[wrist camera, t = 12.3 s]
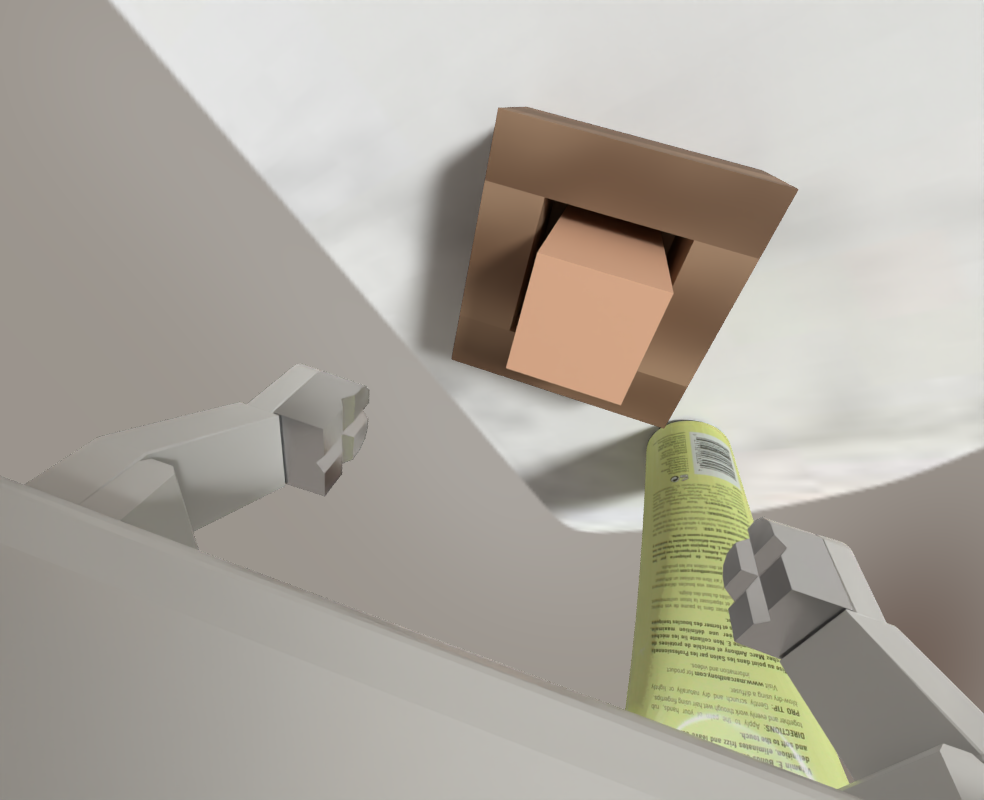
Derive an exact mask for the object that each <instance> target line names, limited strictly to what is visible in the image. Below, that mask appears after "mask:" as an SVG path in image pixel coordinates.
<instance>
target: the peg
mask: <svg viewBox="0 0 984 800" xmlns="http://www.w3.org/2000/svg"><path fill="white" fill-rule="evenodd" d="M673 294H674V293H673V288H672V283H671V278H670V274H669V269H668V264H667V259H666V255H665V250H664V245H663V240H662V236H661V231H660V230H657V229H653V228H650V227H646V226H643V225H639V224H636V223H632V222H629V221H625V220H622V219H618V218H615V217H611V216H608V215H604V214H601V213H597V212H594V211H590V210H587V209H583V208H580V207H576V206H573V205H569V204H568V206H567V207H566V209H565V210H564V212H563V214H562V215H561V217H560V218H559V220H558V221H557V223H556V224H555V226H554V227H553V229H552V231H551V232H550V234H549V235H548V237H547V238H546V240H545V241H544V243H543V245H542V246H541V248H540V249H539V251H538V252H537V256H536V259H535V263H534V267H533V270H532V274H531V278H530V281H529V285H528V289H527V292H526V296H525V300H524V303H523V307H522V311H521V314H520V318H519V322H518V325H517V329H516V333H515V336H514V340H513V344H512V348H511V351H510V355H509V359H508V362H507V366H506V368H507V369H510V370H513V371H517V372H520V373H523V374H526V375H529V376H532V377H535V378H538V379H541V380H544V381H547V382H550V383H553V384H557V385H560V386H563V387H566V388H569V389H572V390H575V391H578V392H581V393H584V394H587V395H590V396H594V397H597V398H600V399H603V400H606V401H609V402H612V403H615V404H618V405H621V404H622V402H623V400H624V397H625V395H626V393H627V391H628V389H629V387H630V385H631V383H632V380H633V378H634V376H635V374H636V372H637V370H638V368H639V366H640V364H641V361H642V359H643V357H644V355H645V353H646V351H647V349H648V347H649V344H650V342H651V340H652V338H653V336H654V334H655V332H656V330H657V328H658V325H659V323H660V321H661V319H662V317H663V315H664V313H665V311H666V308H667V306H668V304H669V302H670V300H671V298H672V296H673Z"/></svg>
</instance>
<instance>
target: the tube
mask: <svg viewBox="0 0 984 800" xmlns="http://www.w3.org/2000/svg"><path fill="white" fill-rule="evenodd" d="M753 522H754V521H753V518H752V515H751V511H750V508H749V505H748V502H747V499H746V495H745V492H744V489H743V485H742V482H741V479H740V475H739V472H738V469H737V466H736V462H735V458H734V455H733V452H732V449H731V446H730V443H729V441H728V439H727V438H726V436H725V435H724V434H723V433H722V432H721V431H720V430H718V429H717V428H715V427H714V426H711V425H709V424H706V423H703V422H698V421H678V422H674V423H671V424H668V425H666V426H665V428H660V429H659V430H658V431H656V432H655V433H654V434H653V436H652V437H651V438H650V440H649V442H648V445H647V450H646V474H645V496H644V515H643V533H642V548H641V562H640V575H639V588H638V600H637V612H636V623H635V631H634V641H633V650H632V660H631V669H630V676H629V685H628V692H627V700H626V708H625V710H627V711H630V712H632V713H635V714H638V715H640V716H643V717H646V718H648V719H651V720H654V721H656V722H659V723H662V724H664V725H667V726H670V727H672V728H675V729H678V730H680V731H683V732H686V733H689V734H691V735H694V736H697V737H699V738H702V739H705V740H707V741H710V742H713V743H715V744H718V745H721V746H723V747H726V748H729V749H731V750H734V751H737V752H739V753H742V754H745V755H747V756H750V757H753V758H755V759H758V760H761V761H763V762H766V763H769V764H771V765H774V766H777V767H779V768H782V769H785V770H787V771H790V772H793V773H795V774H798V775H801V776H803V777H806V778H809V779H811V780H814V781H817V782H819V783H822V784H825V785H827V786H830V787H833V788H835V789H839V788H841V787H843V786H846V785H848V784H849V783H848V780H847V777H846V775H845V772H844V770H843V768H842V765H841V763H840V760H839V758H838V755H837V753H836V751H835V749H834V747H833V746H832V744H831V743H830V741H829V739H828V738H827V736H826V735H825V733H824V732H823V730H822V728H821V727H820V725H819V724H818V722H817V720H816V719H815V717H814V716H813V714H812V713H811V711H810V709H809V708H808V706H807V705H806V703H805V701H804V700H803V698H802V697H801V695H800V694H799V692H798V690H797V689H796V687H795V686H794V684H793V682H792V681H791V679H790V678H789V676H788V675H787V673H786V671H785V670H784V668H783V667H782V665H781V663H780V662H779V661H780V660H781V659H778V658H775V657H773V656H770V655H768V654H765V653H762V652H760V651H757V650H755V649H752V648H749V647H747V646H744V645H742V644H739V643H736V642H734V637H733V632H732V626H731V621H730V616H729V611H728V608H729V607H730V606H731V605H732V603H733V602H734V600H733V599H732V598H731V596H730V595H729V593H728V592H727V591H726V589H725V588H724V583H723V564H724V561H725V558H726V555H727V553H728V551H729V550H730V549H731V548H732V546H733V545H734V544H735V543H736V542H739V541H742V540H745V539H749V534H748V528H749V527H750V525H751V524H752V523H753Z"/></svg>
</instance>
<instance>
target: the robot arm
mask: <svg viewBox="0 0 984 800" xmlns="http://www.w3.org/2000/svg"><path fill="white" fill-rule="evenodd" d="M368 403H369V389H368V388H367V386H365V385H362V384H359V383H356V382H353V381H350V380H348V379H345V378H342V377H339V376H336V375H334V374H331V373H328V372H325V371H321V370H318V369H316V368H313V367H310V366H307V365H304V364H297V365H294V366H293V367H292V368H290V369H289V370H288V371H287V372H286V373H284V374H283V375H282V376H281V377H279V378H278V379H277V380H276V381H274V382H273V383H272V384H271V385H269V386H268V387H267V388H266V389H264V390H263V391H262V392H261V393H259V394H258V395H257V396H256V397H255V398H253V399H252V400H251V401H250V402H248V403H247V404H244V403H241V402H237V403H233V404H229V405H225V406H221V407H217V408H213V409H208V410H204V411H200V412H197V413H192V414H189V415H185V416H180V417H176V418H172V419H168V420H164V421H160V422H156V423H152V424H148V425H143V426H139V427H135V428H131V429H128V430H123V431H119V432H115V433H111V434H107V435H103V436H99V437H97V438H95V439H94V440H92V441H91V442H89V443H88V444H86V445H84V446H83V447H81V448H80V449H78V450H77V451H75V452H74V453H72V454H70V455H69V456H67V457H66V458H64V459H63V460H61V461H60V462H58V463H57V464H55V465H53V466H52V467H50V468H49V469H47V470H46V471H44V472H43V473H41V474H40V475H38V476H37V477H35V478H34V479H32V480H30V481H29V482H27V483H26V484H21V483H18V482H16V481H13V480H10V479H8V478H5V477H2V476H0V800H984V714H983V713H982V712H981V711H980V710H979V709H978V708H977V707H976V706H975V705H974V704H973V703H972V702H971V701H970V700H969V699H968V698H967V697H966V696H965V695H964V694H963V693H962V692H961V691H960V690H959V689H958V688H957V687H956V686H955V685H954V684H953V683H952V682H951V681H950V680H949V679H948V678H947V677H946V676H945V675H944V674H943V673H942V672H941V671H940V670H939V669H938V668H937V667H936V666H935V665H934V664H933V663H932V662H931V661H930V660H929V659H928V658H927V657H926V656H925V655H924V654H923V653H922V652H921V651H920V650H919V649H918V648H917V647H916V646H915V645H914V644H913V643H912V642H911V641H910V640H909V639H908V638H907V637H906V636H905V635H904V634H903V633H902V632H901V631H900V630H899V629H898V628H897V627H896V626H893V625H890V624H888V623H886V621H885V619H884V617H883V615H882V613H881V611H880V609H879V606H878V604H877V602H876V600H875V598H874V596H873V594H872V592H871V590H870V588H869V586H868V583H867V582H866V579H865V577H864V575H863V573H862V571H861V569H860V567H859V565H858V563H857V560H856V558H855V556H854V554H853V552H852V550H851V549H850V548H849V547H848V546H847V545H846V544H845V543H843V542H840V541H837V540H834V539H831V538H827V537H824V536H821V535H817V534H812V533H809V532H806V531H803V530H800V529H797V528H794V527H791V526H788V525H785V524H782V523H779V522H775V521H772V520H769V519H766V518H763V517H762V518H759V519H757V520H756V521H754V522H753V523H752V524H751V525H750V527H749V528H748V534H749V539H745V540H742V541H739V542H736V543H735V544H734V545H733V546H732V548H731V549H730V550H729V551H728V553H727V555H726V558H725V561H724V564H723V583H724V588H725V589H726V591H727V592H728V593H729V595H730V596H731V598H732V599H733V600H734V602H733V603H732V605H731V606H730V607H729V608H728V611H729V616H730V621H731V626H732V632H733V637H734V642H736V643H739V644H742V645H744V646H747V647H749V648H752V649H755V650H757V651H760V652H762V653H765V654H768V655H770V656H773V657H775V658H778V659H781V660H780V661H779V662H780V663H781V665H782V667H783V668H784V670H785V671H786V673H787V675H788V676H789V678H790V679H791V681H792V682H793V684H794V686H795V687H796V689H797V690H798V692H799V694H800V695H801V697H802V698H803V700H804V701H805V703H806V705H807V706H808V708H809V709H810V711H811V713H812V714H813V716H814V717H815V719H816V720H817V722H818V724H819V725H820V727H821V728H822V730H823V732H824V733H825V735H826V736H827V738H828V739H829V741H830V743H831V744H832V746H833V747H834V749H835V751H836V752H837V754H838V755H839V757H840V758H841V760H842V762H843V763H844V765H845V766H846V768H847V769H848V771H849V773H850V774H851V776H852V777H853V779H854V781H855V782H853V783H850V784H848V785H846V786H843V787H841V788H839V789H835V788H833V787H830V786H827V785H825V784H822V783H819V782H817V781H814V780H811V779H809V778H806V777H803V776H801V775H798V774H795V773H793V772H790V771H787V770H785V769H782V768H779V767H777V766H774V765H771V764H769V763H766V762H763V761H761V760H758V759H755V758H753V757H750V756H747V755H745V754H742V753H739V752H737V751H734V750H731V749H729V748H726V747H723V746H721V745H718V744H715V743H713V742H710V741H707V740H705V739H702V738H699V737H697V736H694V735H691V734H689V733H686V732H683V731H680V730H678V729H675V728H672V727H670V726H667V725H664V724H662V723H659V722H656V721H654V720H651V719H648V718H646V717H643V716H640V715H638V714H635V713H632V712H630V711H627V710H624V709H622V708H619V707H616V706H614V705H611V704H608V703H606V702H603V701H600V700H597V699H595V698H592V697H590V696H587V695H584V694H582V693H579V692H576V691H574V690H571V689H568V688H565V687H563V686H560V685H558V684H555V683H552V682H550V681H547V680H544V679H542V678H539V677H536V676H533V675H531V674H528V673H525V672H523V671H520V670H517V669H515V668H512V667H509V666H506V665H504V664H501V663H499V662H496V661H493V660H490V659H488V658H485V657H483V656H480V655H477V654H475V653H472V652H469V651H467V650H464V649H461V648H459V647H456V646H453V645H451V644H448V643H445V642H442V641H439V640H437V639H434V638H432V637H429V636H426V635H424V634H421V633H418V632H416V631H413V630H410V629H408V628H405V627H402V626H400V625H397V624H394V623H392V622H389V621H386V620H383V619H381V618H378V617H376V616H373V615H370V614H368V613H365V612H362V611H360V610H357V609H354V608H351V607H349V606H346V605H344V604H341V603H338V602H336V601H333V600H330V599H328V598H325V597H322V596H320V595H317V594H314V593H312V592H309V591H306V590H303V589H301V588H298V587H296V586H293V585H290V584H288V583H285V582H282V581H280V580H277V579H274V578H271V577H269V576H266V575H263V574H261V573H258V572H255V571H253V570H250V569H248V568H245V567H242V566H239V565H237V564H234V563H231V562H229V561H226V560H224V559H221V558H218V557H216V556H213V555H210V554H208V553H205V552H202V551H200V550H199V549H198V545H197V542H196V539H195V536H194V531H196V530H198V529H200V528H202V527H204V526H206V525H208V524H210V523H212V522H214V521H216V520H218V519H220V518H222V517H224V516H226V515H228V514H230V513H232V512H234V511H236V510H238V509H240V508H242V507H244V506H246V505H248V504H250V503H252V502H254V501H256V500H258V499H260V498H262V497H264V496H266V495H268V494H270V493H272V492H274V491H276V490H278V489H280V488H282V487H284V486H285V484H288V485H291V486H294V487H297V488H301V489H304V490H307V491H310V492H313V493H316V494H319V495H322V496H325V495H326V494H327V493H328V492H329V490H330V489H331V488H332V486H333V485H334V484H335V482H336V481H337V480H338V479H339V477H340V476H341V475H342V464H343V463H345V462H348V461H350V460H353V459H354V457H355V456H356V454H357V453H358V451H359V450H360V448H361V446H362V444H363V442H364V440H365V436H366V433H367V428H368V418H367V416H366V414H365V413H364V411H363V410H364V408H365V407H366V406H367V405H368Z"/></svg>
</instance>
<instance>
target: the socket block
mask: <svg viewBox="0 0 984 800" xmlns="http://www.w3.org/2000/svg"><path fill="white" fill-rule="evenodd" d="M797 191H798V189H797V188H795V187H793V186H791V185H789V184H787V183H786V182H784V181H782V180H780V179H778V178H776V177H774V176H772V175H770V174H768V173H766V172H764V171H763V170H759V169H755V168H752V167H748V166H744V165H740V164H737V163H733V162H729V161H726V160H722V159H718V158H714V157H711V156H707V155H703V154H700V153H696V152H692V151H689V150H685V149H681V148H677V147H674V146H670V145H666V144H663V143H659V142H655V141H651V140H648V139H644V138H640V137H637V136H633V135H629V134H625V133H622V132H618V131H614V130H611V129H607V128H603V127H600V126H596V125H592V124H588V123H585V122H581V121H577V120H574V119H570V118H566V117H562V116H559V115H555V114H551V113H548V112H544V111H540V110H536V109H533V108H529V107H507V108H498V112H497V118H496V123H495V128H494V134H493V139H492V144H491V150H490V155H489V160H488V166H487V171H486V177H485V182H484V187H483V193H482V198H481V203H480V209H479V214H478V219H477V225H476V230H475V235H474V241H473V246H472V252H471V257H470V262H469V268H468V273H467V278H466V284H465V289H464V294H463V300H462V305H461V310H460V316H459V321H458V327H457V332H456V337H455V343H454V348H453V353H452V360H455V361H458V362H461V363H464V364H467V365H470V366H474V367H477V368H480V369H483V370H486V371H489V372H492V373H495V374H498V375H501V376H504V377H507V378H510V379H513V380H516V381H520V382H523V383H526V384H529V385H532V386H535V387H538V388H541V389H544V390H547V391H550V392H553V393H556V394H559V395H562V396H566V397H569V398H572V399H575V400H578V401H581V402H584V403H587V404H590V405H593V406H596V407H599V408H602V409H605V410H608V411H612V412H615V413H618V414H621V415H624V416H627V417H630V418H633V419H636V420H639V421H642V422H645V423H648V424H651V425H654V426H658V427H661V428H665V426H666V424H667V422H668V421H669V419H670V417H671V415H672V414H673V412H674V410H675V408H676V406H677V405H678V403H679V401H680V399H681V398H682V396H683V394H684V392H685V390H686V389H687V387H688V385H689V383H690V382H691V380H692V378H693V376H694V374H695V373H696V371H697V369H698V367H699V365H700V364H701V362H702V360H703V358H704V357H705V355H706V353H707V351H708V349H709V348H710V346H711V344H712V342H713V341H714V339H715V337H716V335H717V333H718V332H719V330H720V328H721V326H722V325H723V323H724V321H725V319H726V317H727V316H728V314H729V312H730V310H731V309H732V307H733V305H734V303H735V301H736V300H737V298H738V296H739V294H740V293H741V291H742V289H743V287H744V285H745V284H746V282H747V280H748V278H749V277H750V275H751V273H752V271H753V269H754V268H755V266H756V264H757V262H758V260H759V259H760V257H761V255H762V253H763V252H764V250H765V248H766V246H767V244H768V243H769V241H770V239H771V237H772V236H773V234H774V232H775V230H776V228H777V227H778V225H779V223H780V221H781V220H782V218H783V216H784V214H785V212H786V211H787V209H788V207H789V205H790V204H791V202H792V200H793V198H794V196H795V195H796V193H797ZM568 204H569V205H573V206H576V207H580V208H583V209H587V210H590V211H594V212H597V213H601V214H604V215H608V216H611V217H615V218H618V219H622V220H625V221H629V222H632V223H636V224H639V225H643V226H646V227H650V228H653V229H657V230H660V231H661V236H662V240H663V245H664V250H665V255H666V259H667V264H668V269H669V274H670V278H671V283H672V288H673V293H674V294H673V296H672V298H671V300H670V302H669V304H668V306H667V308H666V311H665V313H664V315H663V317H662V319H661V321H660V323H659V325H658V328H657V330H656V332H655V334H654V336H653V338H652V340H651V342H650V344H649V347H648V349H647V351H646V353H645V355H644V357H643V359H642V361H641V364H640V366H639V368H638V370H637V372H636V374H635V376H634V378H633V380H632V383H631V385H630V387H629V389H628V391H627V393H626V395H625V397H624V400H623V402H622V404H621V405H618V404H615V403H612V402H609V401H606V400H603V399H600V398H597V397H594V396H590V395H587V394H584V393H581V392H578V391H575V390H572V389H569V388H566V387H563V386H560V385H557V384H553V383H550V382H547V381H544V380H541V379H538V378H535V377H532V376H529V375H526V374H523V373H520V372H517V371H513V370H510V369H507V368H506V366H507V362H508V359H509V355H510V351H511V348H512V344H513V340H514V336H515V333H516V329H517V325H518V322H519V318H520V314H521V311H522V307H523V303H524V300H525V296H526V292H527V289H528V285H529V281H530V278H531V274H532V270H533V267H534V263H535V259H536V256H537V252H538V251H539V249H540V248H541V246H542V245H543V243H544V241H545V240H546V238H547V237H548V235H549V234H550V232H551V231H552V229H553V227H554V226H555V224H556V223H557V221H558V220H559V218H560V217H561V215H562V214H563V212H564V210H565V209H566V207H567V206H568Z"/></svg>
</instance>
